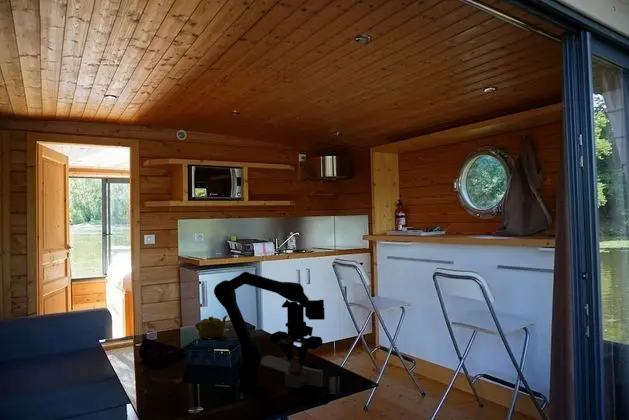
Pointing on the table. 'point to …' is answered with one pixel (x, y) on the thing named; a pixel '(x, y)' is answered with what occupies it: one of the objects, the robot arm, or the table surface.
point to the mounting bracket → (156, 351)
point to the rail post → (295, 366)
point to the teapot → (211, 327)
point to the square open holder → (296, 379)
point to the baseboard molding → (276, 364)
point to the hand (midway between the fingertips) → (296, 364)
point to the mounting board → (313, 376)
